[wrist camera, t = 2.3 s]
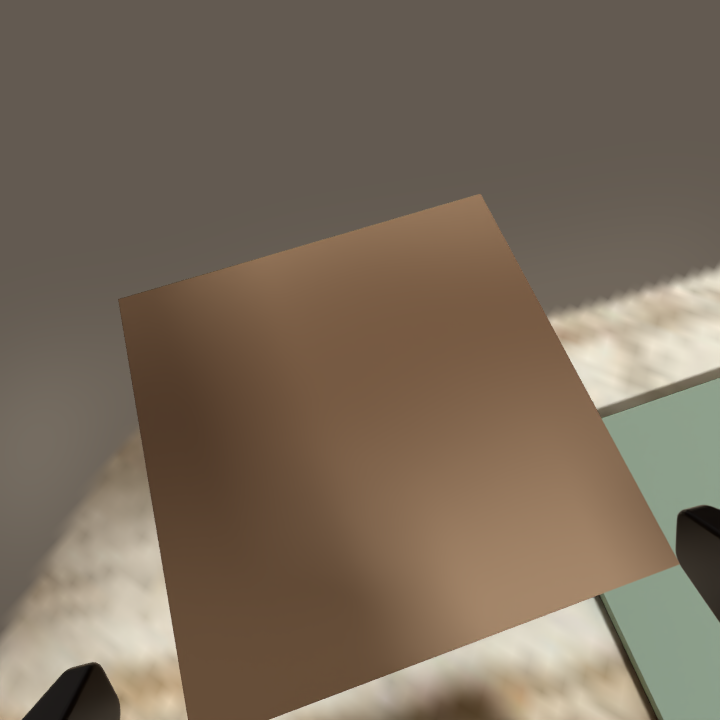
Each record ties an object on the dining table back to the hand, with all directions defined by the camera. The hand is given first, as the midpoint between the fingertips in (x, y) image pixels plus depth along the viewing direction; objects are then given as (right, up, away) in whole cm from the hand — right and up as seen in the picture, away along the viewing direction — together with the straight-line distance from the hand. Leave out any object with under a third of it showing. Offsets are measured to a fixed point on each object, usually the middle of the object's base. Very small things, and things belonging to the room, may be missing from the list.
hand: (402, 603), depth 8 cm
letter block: (0, -2, +9) cm, 10 cm away
